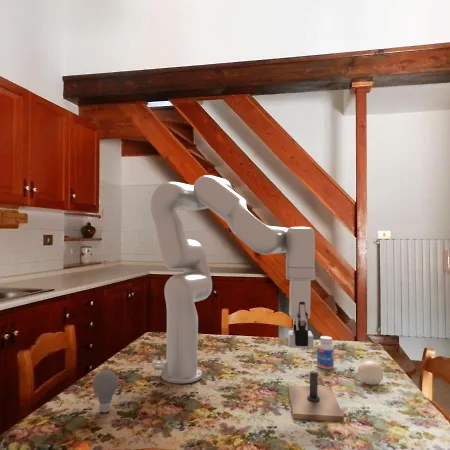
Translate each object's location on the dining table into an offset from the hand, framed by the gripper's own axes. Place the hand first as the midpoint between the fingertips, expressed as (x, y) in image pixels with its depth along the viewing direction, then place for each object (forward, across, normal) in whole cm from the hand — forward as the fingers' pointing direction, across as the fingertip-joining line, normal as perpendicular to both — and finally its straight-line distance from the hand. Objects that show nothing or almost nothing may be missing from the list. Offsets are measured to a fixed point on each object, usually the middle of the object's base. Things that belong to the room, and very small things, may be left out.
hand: (300, 341), depth 106 cm
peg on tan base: (+16, 0, +3) cm, 17 cm away
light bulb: (+16, +11, -48) cm, 52 cm away
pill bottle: (+16, -32, +11) cm, 37 cm away
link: (+1, 0, 0) cm, 1 cm away
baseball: (+17, -18, +22) cm, 33 cm away
